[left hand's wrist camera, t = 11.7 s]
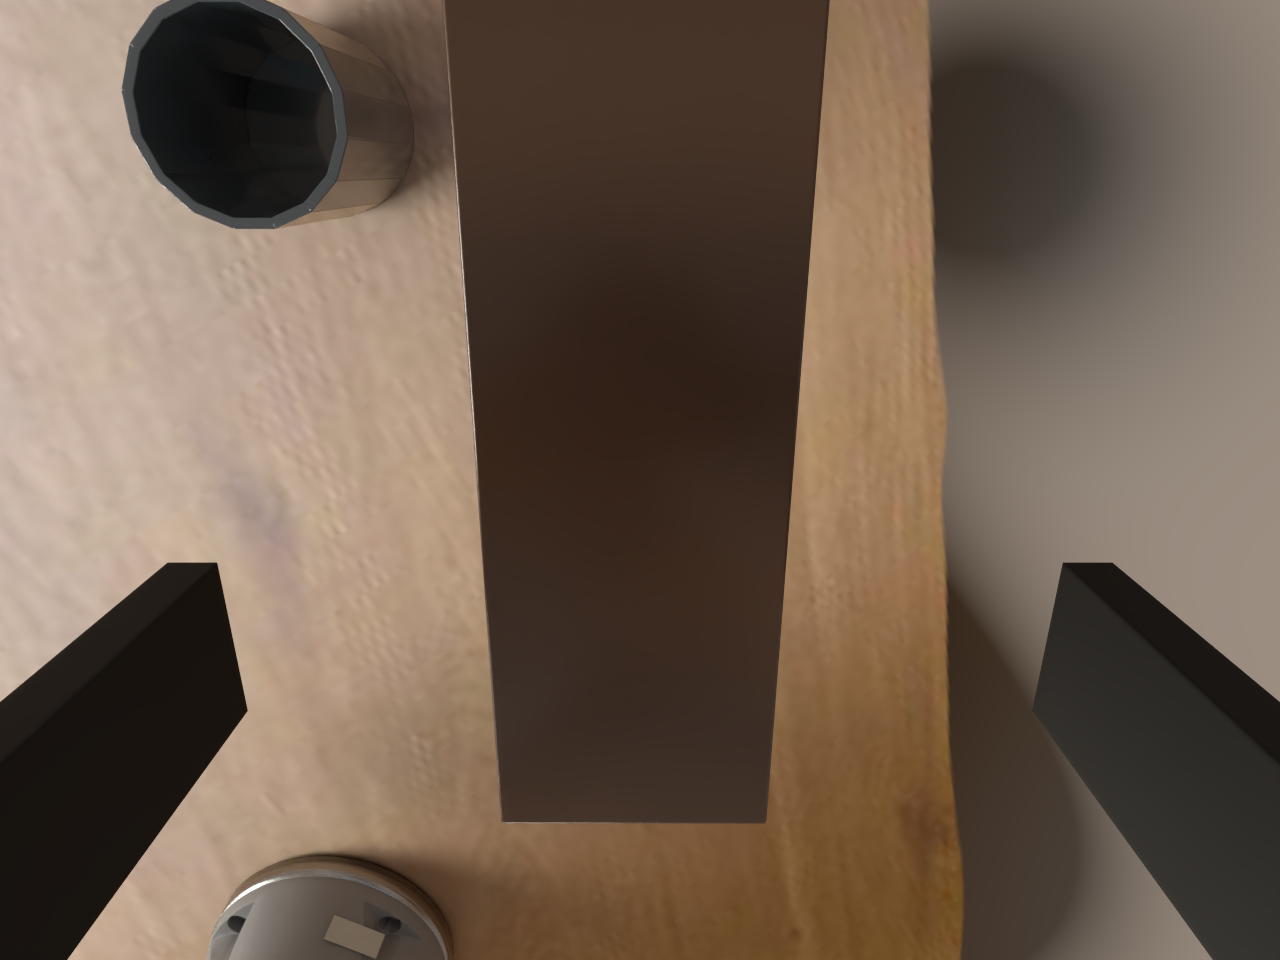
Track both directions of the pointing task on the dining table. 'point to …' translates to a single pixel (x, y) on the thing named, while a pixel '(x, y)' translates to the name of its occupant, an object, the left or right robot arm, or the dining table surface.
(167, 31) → the cup
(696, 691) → the bar
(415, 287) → the dining table surface
